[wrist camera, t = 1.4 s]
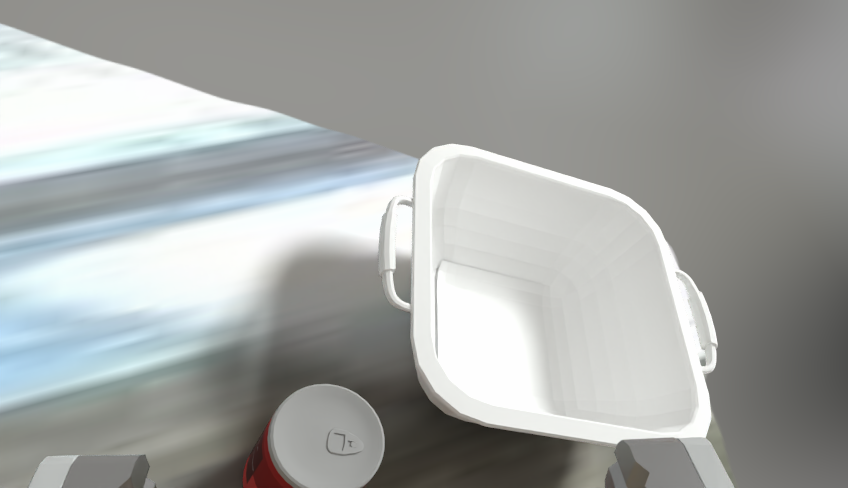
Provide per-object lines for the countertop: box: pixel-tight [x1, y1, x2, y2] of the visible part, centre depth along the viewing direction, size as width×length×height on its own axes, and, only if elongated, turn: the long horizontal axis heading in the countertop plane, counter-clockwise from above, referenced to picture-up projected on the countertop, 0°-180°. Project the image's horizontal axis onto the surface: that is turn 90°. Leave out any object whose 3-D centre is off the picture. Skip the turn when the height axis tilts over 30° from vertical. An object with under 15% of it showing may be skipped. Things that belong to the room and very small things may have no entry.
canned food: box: [243, 384, 385, 488], centre depth 47 cm, size 8×8×11 cm
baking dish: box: [378, 144, 718, 447], centre depth 62 cm, size 34×28×13 cm
